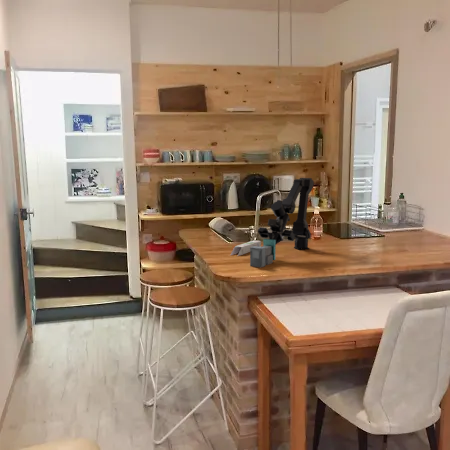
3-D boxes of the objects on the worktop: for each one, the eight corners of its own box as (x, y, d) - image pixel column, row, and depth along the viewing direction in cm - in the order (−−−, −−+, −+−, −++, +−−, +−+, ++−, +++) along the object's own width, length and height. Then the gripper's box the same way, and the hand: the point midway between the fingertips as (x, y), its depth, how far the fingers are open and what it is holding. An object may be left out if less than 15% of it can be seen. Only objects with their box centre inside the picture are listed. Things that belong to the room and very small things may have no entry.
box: (260, 248, 281) (234, 257, 258) (254, 247, 284) (227, 257, 260) (260, 240, 281) (234, 249, 257) (254, 240, 283) (227, 248, 260)
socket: (254, 264, 242) (254, 246, 241) (265, 265, 239) (265, 247, 237) (250, 265, 239) (250, 247, 237) (261, 267, 235) (261, 248, 234)
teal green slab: (264, 258, 250) (264, 238, 249) (275, 259, 247) (275, 239, 245) (251, 263, 239) (251, 242, 238) (262, 265, 236) (262, 244, 235)
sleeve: (262, 261, 249) (262, 245, 247) (273, 262, 245) (273, 246, 244) (256, 263, 244) (256, 247, 242) (267, 265, 240) (267, 248, 239)
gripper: (259, 211, 255) (248, 236, 247) (292, 214, 245) (282, 239, 237) (266, 224, 263) (256, 249, 255) (299, 227, 252) (289, 253, 245)
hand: (270, 247), depth 248 cm, fingers closed, pressing on teal green slab
